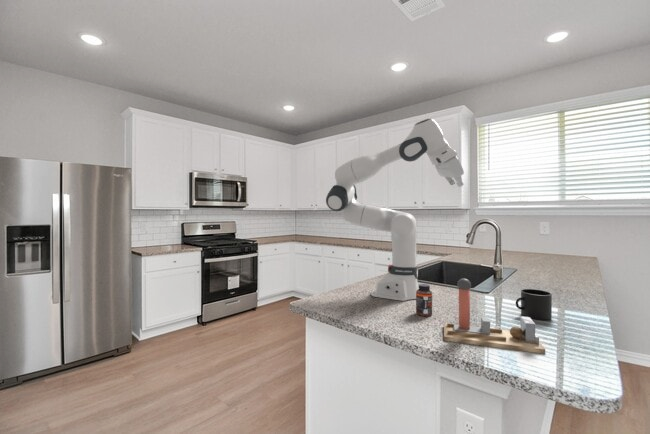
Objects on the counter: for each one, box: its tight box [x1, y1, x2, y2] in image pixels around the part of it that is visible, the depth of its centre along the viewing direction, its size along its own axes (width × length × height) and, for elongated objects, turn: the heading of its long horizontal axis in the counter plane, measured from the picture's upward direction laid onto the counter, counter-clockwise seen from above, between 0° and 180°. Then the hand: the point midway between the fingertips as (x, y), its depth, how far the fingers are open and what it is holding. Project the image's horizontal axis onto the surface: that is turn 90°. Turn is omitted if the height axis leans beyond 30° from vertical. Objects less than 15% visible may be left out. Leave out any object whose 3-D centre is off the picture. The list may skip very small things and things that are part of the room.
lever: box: [453, 277, 491, 335], centre depth 96 cm, size 10×5×17 cm, turn 69°
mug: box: [515, 288, 553, 321], centre depth 114 cm, size 9×12×9 cm
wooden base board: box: [443, 322, 546, 355], centre depth 94 cm, size 26×12×2 cm, turn 69°
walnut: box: [509, 325, 523, 339], centre depth 92 cm, size 3×3×3 cm
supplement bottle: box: [415, 283, 433, 317], centre depth 117 cm, size 6×6×11 cm
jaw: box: [520, 315, 540, 345], centre depth 91 cm, size 3×6×6 cm, turn 159°
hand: (456, 185), depth 125 cm, fingers open, 8 cm apart
